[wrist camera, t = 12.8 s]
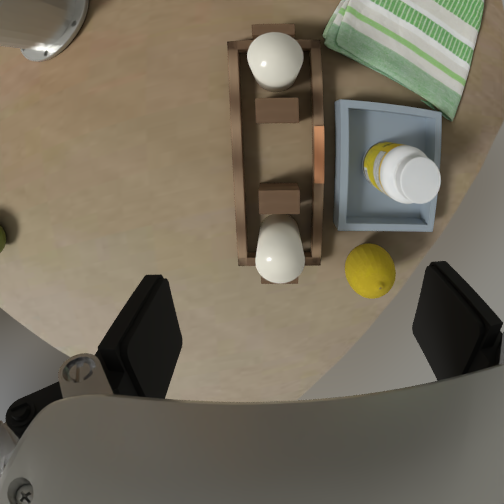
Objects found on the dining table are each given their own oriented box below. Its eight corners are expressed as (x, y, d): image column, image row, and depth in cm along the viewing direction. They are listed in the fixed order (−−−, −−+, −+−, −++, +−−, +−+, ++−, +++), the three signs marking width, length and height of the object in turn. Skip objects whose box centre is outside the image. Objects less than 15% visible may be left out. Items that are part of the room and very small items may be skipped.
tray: (334, 101, 29) (340, 99, 26) (429, 112, 28) (441, 112, 25) (333, 221, 34) (338, 230, 31) (421, 223, 33) (432, 231, 30)
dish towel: (316, 48, 27) (319, 41, 24) (370, -74, 18) (375, -83, 15) (448, 121, 28) (460, 122, 26) (482, -5, 19) (492, -10, 16)
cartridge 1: (253, 54, 27) (246, 33, 20) (295, 53, 27) (301, 32, 20) (254, 92, 29) (248, 82, 22) (297, 92, 29) (304, 81, 21)
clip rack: (229, 37, 26) (223, 26, 23) (317, 36, 26) (322, 25, 22) (240, 267, 37) (236, 283, 33) (318, 267, 36) (322, 283, 33)
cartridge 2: (258, 213, 34) (254, 238, 27) (299, 212, 34) (305, 238, 27) (260, 250, 36) (256, 283, 29) (298, 249, 36) (304, 283, 28)
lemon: (337, 275, 37) (350, 312, 29) (341, 233, 34) (358, 262, 27) (378, 275, 36) (399, 310, 29) (384, 234, 34) (410, 262, 27)
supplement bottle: (410, 151, 29) (455, 163, 20) (396, 195, 31) (435, 221, 23) (369, 133, 29) (404, 138, 20) (354, 179, 31) (383, 201, 22)
